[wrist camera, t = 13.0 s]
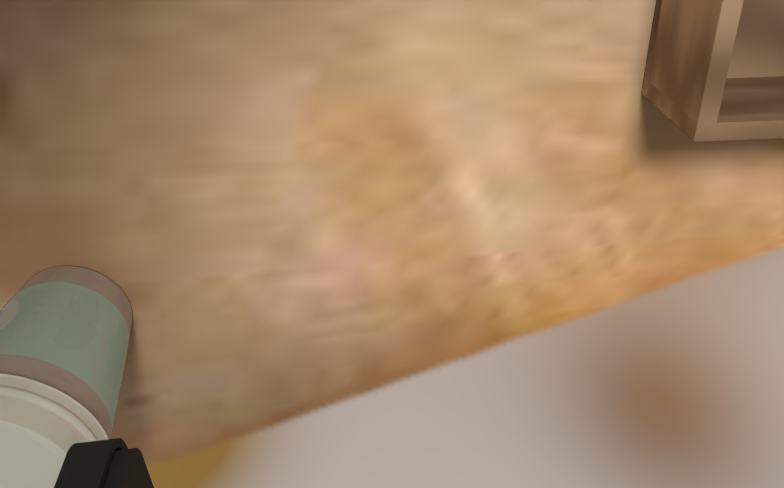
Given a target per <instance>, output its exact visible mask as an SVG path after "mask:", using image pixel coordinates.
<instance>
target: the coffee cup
mask: <svg viewBox="0 0 784 488" xmlns="http://www.w3.org/2000/svg"><path fill="white" fill-rule="evenodd" d="M132 322H133V313H132V308H131V305H130V302H129V300H128V298H127V297H126V295H125V294H124V292H123V291H122V290H121V289H120V288H119V287H118V286H117V285H116V284H115V283H114V282H113V281H111V280H110V279H108V278H107V277H105V276H104V275H102V274H100V273H97V272H95V271H92V270H89V269H86V268H82V267H75V266H60V267H53V268H49V269H46V270H44V271H41V272H39V273H38V274H36V275H34V276H33V277H32V278H31V279H30V280H29V281H28V282H27V283H26V284H25V285H24V286H23V287H22V288H21V289H20V290H19V291H18V292H17V293H16V294H15V296H14V297H13V298H12V299H11V300H10V301H9V302H8V303H7V304H6V305H5V306H4V307H3V308H2V310H1V311H0V488H54V486H55V483H56V481H57V478H58V475H59V473H60V470H61V467H62V465H63V462H64V459H65V457H66V454H67V452H68V450H69V448H70V447H71V446H72V445H73V444H74V443H82V442H91V441H100V440H108V439H111V436H112V431H113V426H114V420H115V415H116V409H117V404H118V399H119V393H120V388H121V383H122V377H123V372H124V366H125V361H126V356H127V350H128V345H129V339H130V333H131V328H132Z"/></svg>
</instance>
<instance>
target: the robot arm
mask: <svg viewBox="0 0 784 488" xmlns="http://www.w3.org/2000/svg"><path fill="white" fill-rule="evenodd" d="M54 488H154V487H153V484H152V481H151V478H150V476H149V473H148V470H147V467H146V464H145V461H144V459H143V456H142V453H141V451H140V450H139V449H138V448H133V449H128V448H127V446H126V444H125V442H124V441H123V440H122V439H121V438H117V439H108V440H100V441H91V442H82V443H74V444H73V445H72V446H71V447H70V448H69V450H68V452H67V454H66V457H65V459H64V462H63V465H62V467H61V470H60V473H59V475H58V478H57V481H56V483H55V486H54Z"/></svg>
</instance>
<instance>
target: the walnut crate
mask: <svg viewBox="0 0 784 488" xmlns="http://www.w3.org/2000/svg"><path fill="white" fill-rule="evenodd" d="M642 94H643V95H644V96H645V97H646V98H647V99H648V100H649V101H650V102H651V103H653V104H654V105H655V106H656V107H657V108H658V109H659V110H660V111H661V112H662V113H663V114H664V115H665V116H666V117H668V118H669V119H670V120H671V121H672V122H673V123H674V124H675V125H676V126H677V127H678V128H679V129H680V130H682V131H683V132H684V133H685V134H686V135H687V136H688V137H689V138H690V139H691V140H692V141H693V142H702V141H726V140H751V139H776V138H784V0H657V1H656V7H655V13H654V19H653V26H652V32H651V38H650V44H649V50H648V56H647V62H646V69H645V75H644V81H643V87H642Z"/></svg>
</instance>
